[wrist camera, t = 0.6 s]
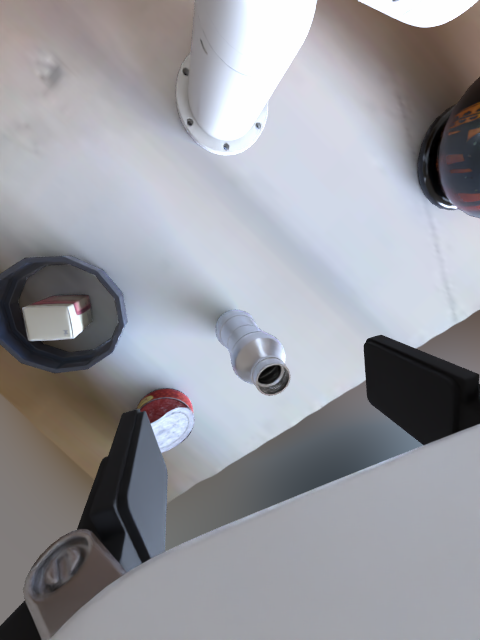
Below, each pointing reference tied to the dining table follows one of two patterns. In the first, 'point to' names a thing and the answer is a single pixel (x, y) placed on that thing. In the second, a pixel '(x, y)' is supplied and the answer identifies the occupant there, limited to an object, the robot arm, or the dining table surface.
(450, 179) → the amphora vase
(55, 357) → the ring
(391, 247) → the dining table surface
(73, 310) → the small box
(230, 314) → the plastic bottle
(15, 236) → the dining table surface
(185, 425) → the canned food
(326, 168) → the dining table surface
